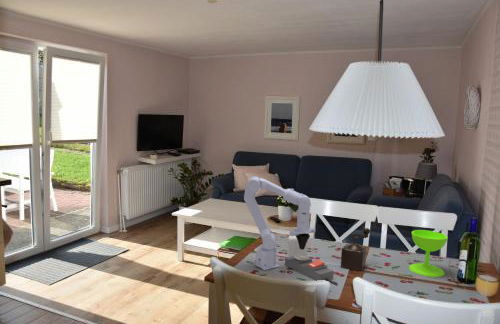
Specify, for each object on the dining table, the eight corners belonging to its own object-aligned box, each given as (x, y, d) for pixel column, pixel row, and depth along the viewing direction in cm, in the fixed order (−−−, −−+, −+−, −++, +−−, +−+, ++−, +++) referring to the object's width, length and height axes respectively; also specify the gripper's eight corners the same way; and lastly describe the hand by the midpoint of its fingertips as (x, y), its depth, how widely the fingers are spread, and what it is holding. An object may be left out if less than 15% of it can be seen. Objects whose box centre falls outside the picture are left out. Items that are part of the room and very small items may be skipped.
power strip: (330, 287, 171) (331, 277, 171) (284, 264, 196) (285, 255, 196) (344, 283, 176) (344, 273, 176) (297, 262, 201) (298, 253, 201)
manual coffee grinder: (363, 271, 191) (365, 235, 189) (340, 267, 196) (342, 231, 194) (369, 262, 205) (371, 227, 203) (347, 258, 210) (349, 224, 208)
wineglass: (401, 266, 200) (404, 231, 198) (426, 263, 206) (429, 229, 204) (425, 278, 185) (429, 240, 184) (452, 274, 191) (455, 238, 189)
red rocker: (314, 269, 181) (313, 267, 181) (308, 266, 184) (307, 264, 184) (324, 264, 184) (324, 262, 184) (318, 261, 188) (317, 259, 187)
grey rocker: (299, 260, 189) (299, 257, 189) (293, 257, 192) (294, 255, 192) (308, 260, 193) (309, 258, 193) (303, 258, 196) (303, 255, 196)
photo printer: (305, 256, 210) (306, 233, 209) (307, 259, 206) (308, 235, 205) (286, 256, 209) (287, 233, 207) (288, 259, 204) (289, 235, 203)
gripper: (297, 224, 183) (295, 253, 185) (320, 221, 191) (318, 248, 193) (287, 221, 189) (286, 249, 190) (310, 218, 197) (308, 244, 199)
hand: (301, 248), depth 192 cm, fingers closed
